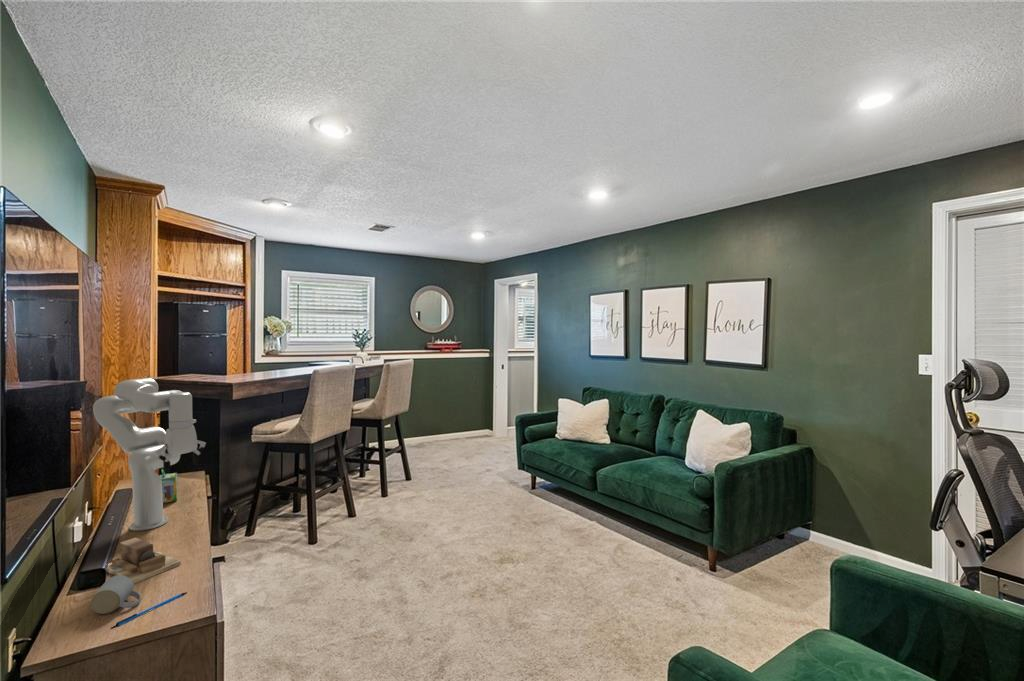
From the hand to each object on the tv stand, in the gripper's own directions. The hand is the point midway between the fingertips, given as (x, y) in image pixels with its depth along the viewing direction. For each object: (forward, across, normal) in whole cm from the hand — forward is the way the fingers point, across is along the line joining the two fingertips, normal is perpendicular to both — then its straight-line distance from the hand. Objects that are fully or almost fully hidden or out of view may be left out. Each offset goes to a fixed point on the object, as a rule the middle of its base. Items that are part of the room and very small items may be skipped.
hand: (181, 467), depth 186 cm
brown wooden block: (+24, +20, +14) cm, 35 cm away
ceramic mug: (+25, +34, +39) cm, 57 cm away
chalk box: (+28, -13, -47) cm, 56 cm away
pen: (+25, +29, +50) cm, 63 cm away
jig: (+25, +20, +18) cm, 37 cm away
